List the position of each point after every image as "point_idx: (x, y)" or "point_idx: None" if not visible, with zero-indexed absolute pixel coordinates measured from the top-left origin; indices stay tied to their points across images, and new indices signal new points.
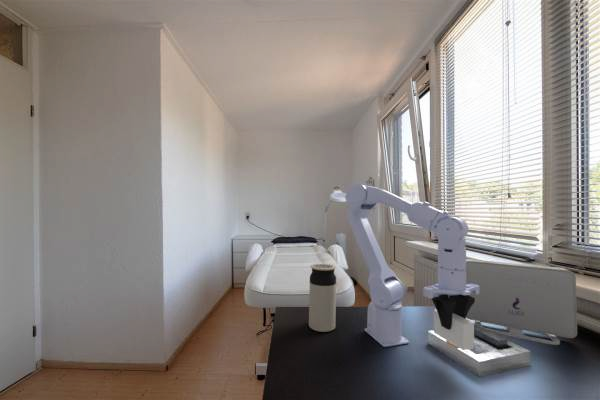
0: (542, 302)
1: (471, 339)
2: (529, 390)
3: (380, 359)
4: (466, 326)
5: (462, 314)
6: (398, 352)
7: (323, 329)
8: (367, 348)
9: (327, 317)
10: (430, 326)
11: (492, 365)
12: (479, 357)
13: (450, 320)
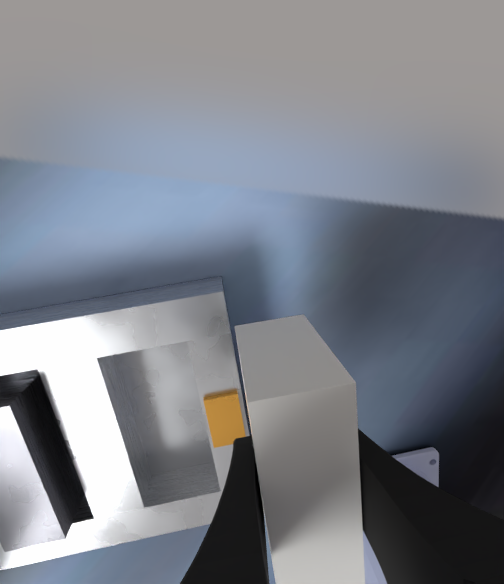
0: None
1: (257, 342)
2: (87, 189)
3: (486, 384)
4: (315, 377)
5: (255, 506)
6: (402, 419)
7: None
8: (487, 441)
9: None
10: (157, 578)
11: (147, 297)
12: (194, 319)
13: (370, 450)
